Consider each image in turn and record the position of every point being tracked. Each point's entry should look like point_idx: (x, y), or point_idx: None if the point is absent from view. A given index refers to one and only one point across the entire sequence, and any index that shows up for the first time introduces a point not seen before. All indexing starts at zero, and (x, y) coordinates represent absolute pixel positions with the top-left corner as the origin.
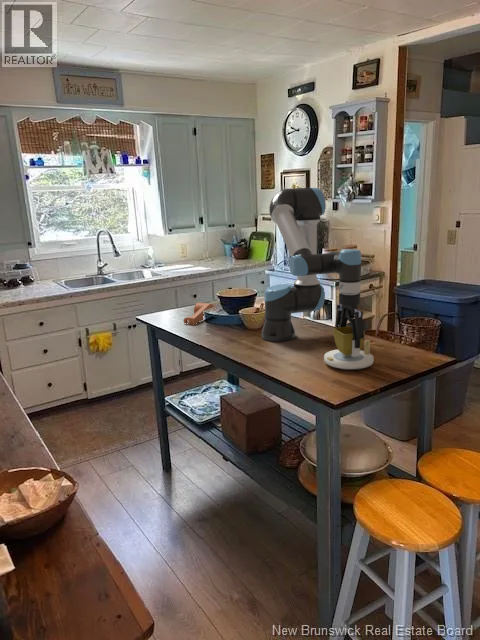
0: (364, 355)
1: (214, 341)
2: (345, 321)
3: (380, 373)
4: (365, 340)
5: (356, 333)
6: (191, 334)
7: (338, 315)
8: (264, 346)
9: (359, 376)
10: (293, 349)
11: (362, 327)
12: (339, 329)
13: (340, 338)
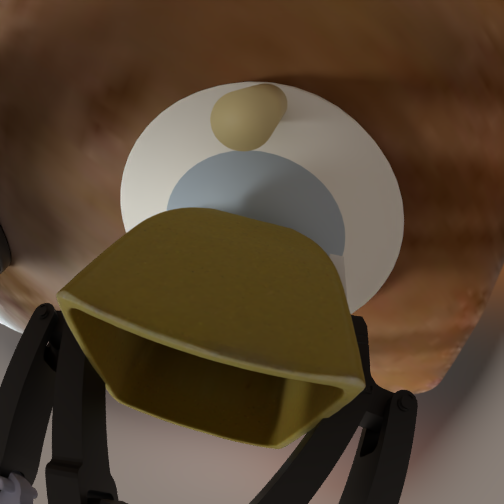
0: (293, 149)
1: (26, 324)
2: (92, 432)
3: (452, 189)
4: (219, 128)
5: (360, 454)
6: (7, 319)
7: (40, 444)
8: (37, 292)
9: (403, 278)
10: (52, 259)
11: (395, 493)
12: (114, 374)
13: (237, 401)
